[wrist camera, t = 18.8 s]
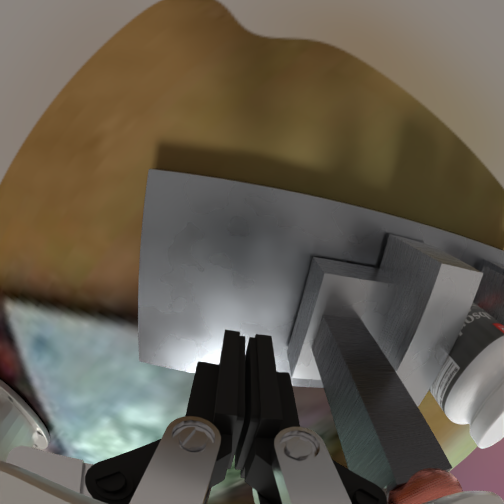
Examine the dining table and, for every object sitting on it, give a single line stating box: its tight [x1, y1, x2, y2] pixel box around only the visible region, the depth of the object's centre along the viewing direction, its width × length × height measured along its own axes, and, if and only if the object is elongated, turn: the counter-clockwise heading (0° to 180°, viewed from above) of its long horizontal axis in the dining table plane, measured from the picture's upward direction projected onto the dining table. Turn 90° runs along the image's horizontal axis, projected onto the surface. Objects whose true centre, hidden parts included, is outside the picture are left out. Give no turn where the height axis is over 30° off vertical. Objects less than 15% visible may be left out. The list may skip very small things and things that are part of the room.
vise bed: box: [138, 169, 504, 388], centre depth 14 cm, size 26×12×6 cm, turn 80°
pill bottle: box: [429, 302, 504, 449], centre depth 12 cm, size 6×6×10 cm
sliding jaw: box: [287, 234, 483, 504], centre depth 9 cm, size 7×10×14 cm
